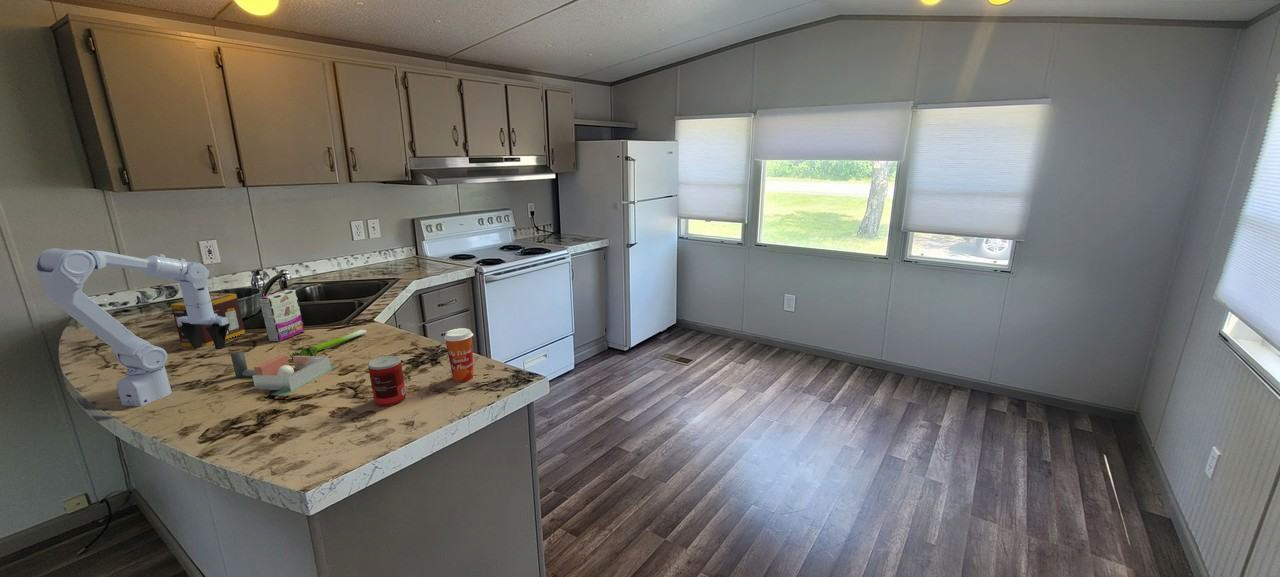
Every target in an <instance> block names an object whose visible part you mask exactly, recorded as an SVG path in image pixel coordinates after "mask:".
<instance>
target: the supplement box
mask: <svg viewBox="0 0 1280 577" xmlns="http://www.w3.org/2000/svg"><path fill="white" fill-rule="evenodd" d="M209 295H210V299H211V303H212V307H213V311H214V314H217V316H221V317H227V320H228V323H230V326H229V328H228V330H227V333H226V338H225V340H226V339H228V340H230V339H229V338H231V339H233V338H232V337H234V338H236V337H239V336H241V335H240V334H242V335H244V334H246V330H245V328H244V322H243V318H241V313H240V309H239V304H238V300H237V295H236V294H222V293H211V294H209ZM181 301H182V300H181ZM181 301H179V302H178V301H177V302H175V303H171V304H170V307H171V310H172V314H173V315H172V316H173V318H174V322H175V326H176V329H177V333H178V337H179V341H180V345H181V347H186V348H187V347H189V348H193V347H192V345H191V343H190V342H189V340H188V339H187V338H186V337H185V335H184V334H183V333H181V332H180V331H179V330H178V327H181V326H182V325H179V324H178V321H177V318H180V317H183V316H188V315H187V311H186V307H185V303H184V301H182V302H181ZM210 326H212V325H210V324H202V325H201V338H202V346H201V347H200V348H204V347H206V346H207V347H209V346H210V347H211V345H212V346H214V345H213V344H214V342H213V339H212V337H211V335H210V334H209V332H208V331H207V330H206V328H207V327H210ZM238 335H239V336H238ZM235 336H236V337H235ZM226 341H227V340H226Z"/></svg>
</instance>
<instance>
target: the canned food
mask: <svg viewBox="0 0 1280 577" xmlns="http://www.w3.org/2000/svg"><path fill="white" fill-rule="evenodd" d="M367 366H368V374H369V379H370V385H371V390H372V391H371V392H372V396H373V402H374V403H375V405H376V406H379V407H390V406H391V405H392V406H394V405H398V404H400V403H402V402H403V401H404V400H405V399H406V395H407V393H406V386H405V379H404V378H405V377H404V373H403V365H402V360H401V357H400V356H398V355H397V356H396V355H385V356H380V357H376V358H374V359H372V360H370V361H369V362H368V363H367ZM397 403H398V404H397Z"/></svg>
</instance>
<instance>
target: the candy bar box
mask: <svg viewBox="0 0 1280 577" xmlns="http://www.w3.org/2000/svg"><path fill="white" fill-rule="evenodd" d="M259 301H260V305H261V309H260V310H261V312H262V313H261V314H262V316H263V320H264V324H265V329H266V333H267V338H268V341H269V342H271V341H277V342H278V343H279V342H280V341H281V342H283V341H286V340H288V339H290V337H291V338H293V337H295V336H294V335H296V336H298V335H300V334H302V333H301V332H303V333H305V332H304V331H306V330H305V326H304V321H303V317H302V312H301V308H300V304H299V303H300V302H299V300H298V293H297V290H295V289H284V290H281V291H277V292H274V293H271V294H267V295H264V296H262V297H261V298H259ZM299 333H300V334H299ZM297 334H298V335H297ZM292 336H293V337H292ZM285 339H286V340H285ZM281 342H280V343H281Z"/></svg>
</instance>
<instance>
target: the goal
mask: <svg viewBox="0 0 1280 577" xmlns="http://www.w3.org/2000/svg"><path fill="white" fill-rule="evenodd" d="M292 357H293V360H292V361H293V364H294V368H295V369H298V370H297V371H294V373H293V374H291V375H289V376H276V375H254V376H252V381H253V385H254V390H270V391H273V390H275V391H293V390H294V389H296V388H298V387H300V386H301V385H303V384H305V383H307V382H309V381H310V380H312V379H314V378H316V377H318V376H319V375H321V374H323V373H325V372H327V371H328V370H330V369H331V367H330V366H331V363H330V358H329V356H318V355H315V356H312V355H307V356H294V355H293V356H292ZM330 371H331V370H330ZM328 372H329V371H328ZM328 372H327V373H328ZM325 374H326V373H325ZM323 375H324V374H323ZM321 376H322V375H321ZM318 378H319V377H318ZM316 379H317V378H316ZM314 380H315V379H314ZM312 381H313V380H312ZM309 383H310V382H309ZM307 384H308V383H307ZM305 385H306V384H305ZM300 388H301V387H300ZM298 389H299V388H298ZM296 390H297V389H296ZM293 392H294V391H293Z"/></svg>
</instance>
